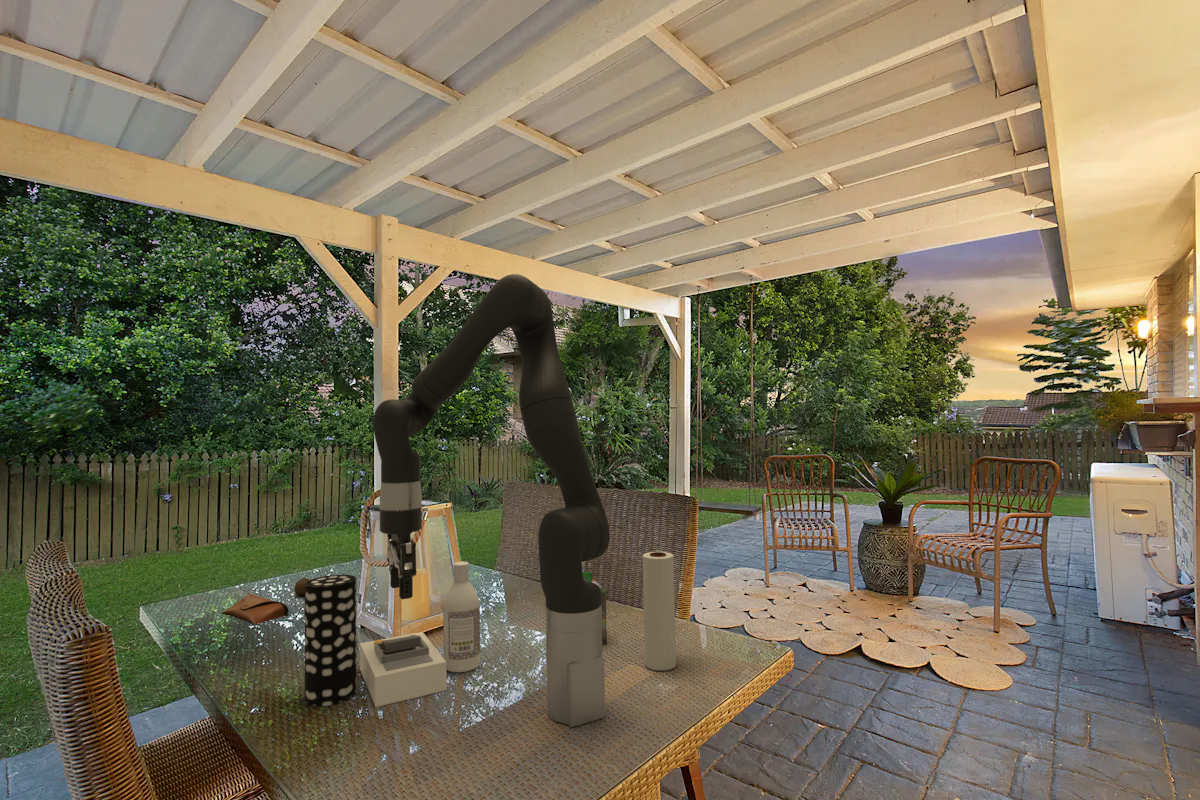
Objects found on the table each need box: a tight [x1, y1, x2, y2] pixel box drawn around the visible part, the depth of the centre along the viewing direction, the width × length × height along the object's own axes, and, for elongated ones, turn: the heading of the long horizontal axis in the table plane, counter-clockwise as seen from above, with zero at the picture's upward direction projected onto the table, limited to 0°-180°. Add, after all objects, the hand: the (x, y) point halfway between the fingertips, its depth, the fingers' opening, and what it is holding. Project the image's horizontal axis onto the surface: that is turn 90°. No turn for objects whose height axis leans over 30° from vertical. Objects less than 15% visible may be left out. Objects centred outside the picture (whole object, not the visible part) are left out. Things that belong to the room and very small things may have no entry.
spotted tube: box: [304, 574, 357, 707], centre depth 106 cm, size 8×8×20 cm
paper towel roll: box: [642, 549, 677, 672], centre depth 117 cm, size 7×6×21 cm
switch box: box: [359, 631, 448, 708], centre depth 112 cm, size 18×12×6 cm, turn 30°
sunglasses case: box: [221, 592, 290, 625], centre depth 153 cm, size 18×7×7 cm
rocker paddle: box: [382, 635, 421, 653], centre depth 112 cm, size 5×6×2 cm
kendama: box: [294, 577, 358, 598], centre depth 165 cm, size 6×10×20 cm
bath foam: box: [442, 561, 481, 673], centre depth 118 cm, size 7×7×20 cm
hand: (401, 592), depth 113 cm, fingers open, 8 cm apart
